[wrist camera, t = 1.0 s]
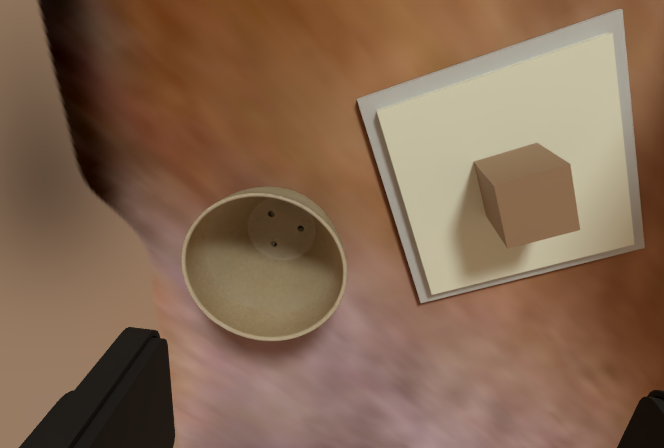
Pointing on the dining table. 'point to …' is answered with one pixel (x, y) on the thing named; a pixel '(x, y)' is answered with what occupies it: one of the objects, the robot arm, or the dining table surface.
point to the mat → (479, 66)
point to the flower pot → (265, 264)
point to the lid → (514, 166)
